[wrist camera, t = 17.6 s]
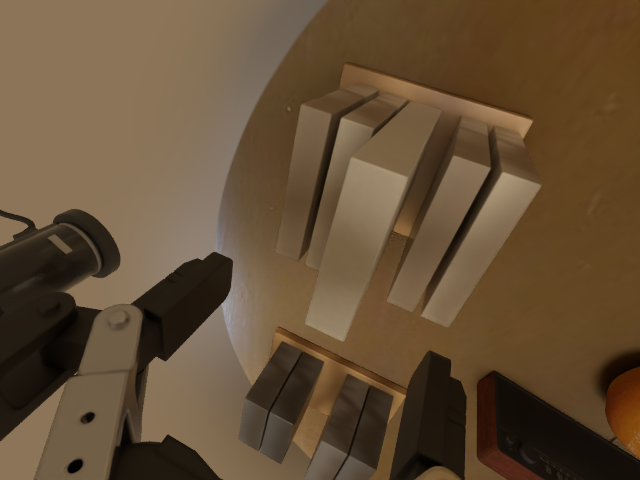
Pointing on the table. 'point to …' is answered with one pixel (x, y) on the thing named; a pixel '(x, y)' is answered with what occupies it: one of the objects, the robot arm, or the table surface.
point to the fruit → (625, 409)
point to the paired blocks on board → (320, 408)
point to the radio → (541, 439)
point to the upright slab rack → (414, 185)
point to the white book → (368, 216)
